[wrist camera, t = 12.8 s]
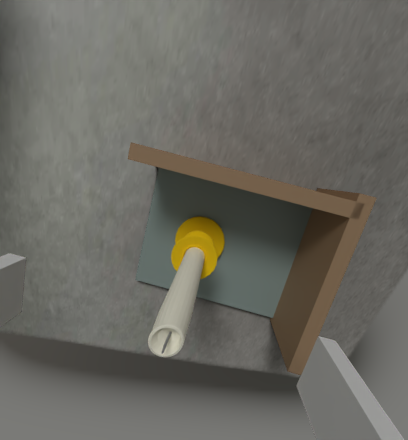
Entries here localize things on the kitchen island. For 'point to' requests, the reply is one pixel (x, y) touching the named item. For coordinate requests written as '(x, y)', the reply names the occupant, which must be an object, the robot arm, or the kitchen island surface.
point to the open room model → (256, 243)
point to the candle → (186, 282)
